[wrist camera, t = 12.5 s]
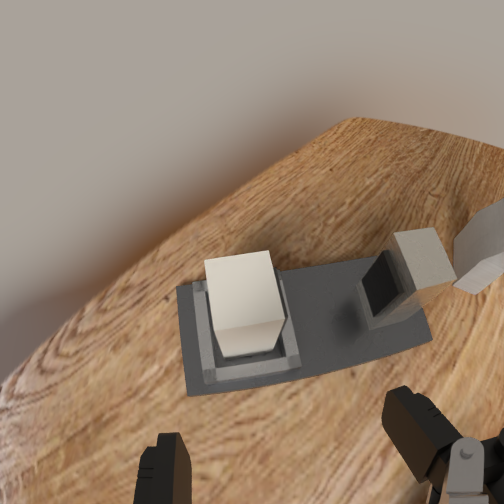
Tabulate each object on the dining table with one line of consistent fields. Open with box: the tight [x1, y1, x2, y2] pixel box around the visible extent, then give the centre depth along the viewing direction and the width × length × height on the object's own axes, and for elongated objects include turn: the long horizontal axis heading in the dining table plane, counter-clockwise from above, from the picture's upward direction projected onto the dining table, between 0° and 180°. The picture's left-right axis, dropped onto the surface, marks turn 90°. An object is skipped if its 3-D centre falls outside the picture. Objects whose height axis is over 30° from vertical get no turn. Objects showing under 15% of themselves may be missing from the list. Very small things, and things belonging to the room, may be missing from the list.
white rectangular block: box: [204, 250, 288, 360], centre depth 22 cm, size 4×4×9 cm
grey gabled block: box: [452, 198, 504, 295], centre depth 26 cm, size 4×7×10 cm, turn 157°
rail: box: [176, 227, 457, 397], centre depth 23 cm, size 23×10×10 cm, turn 100°
